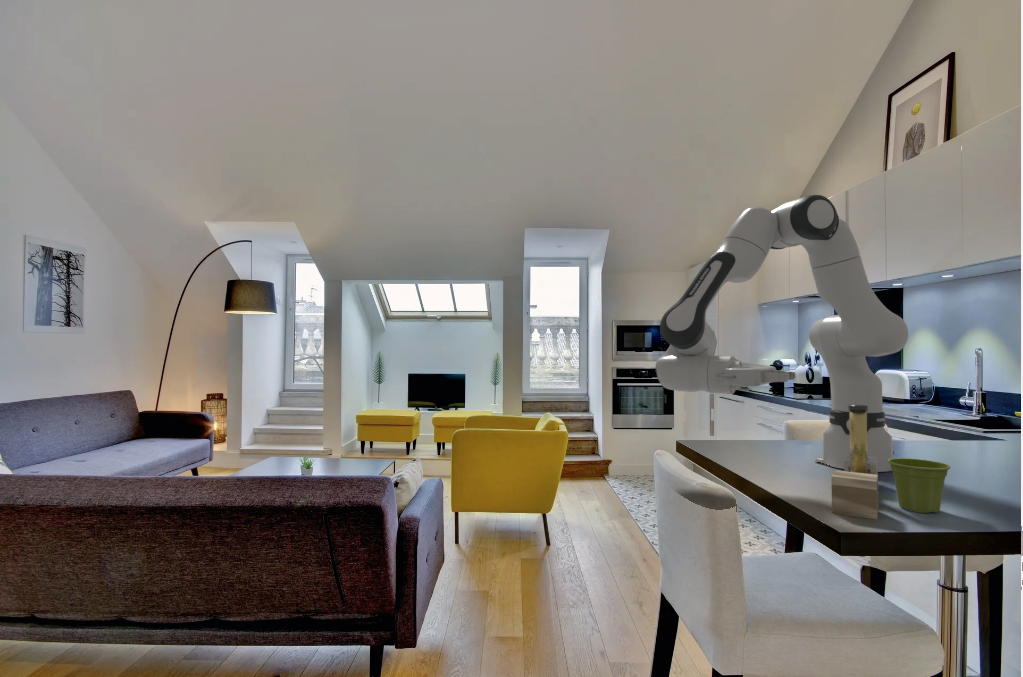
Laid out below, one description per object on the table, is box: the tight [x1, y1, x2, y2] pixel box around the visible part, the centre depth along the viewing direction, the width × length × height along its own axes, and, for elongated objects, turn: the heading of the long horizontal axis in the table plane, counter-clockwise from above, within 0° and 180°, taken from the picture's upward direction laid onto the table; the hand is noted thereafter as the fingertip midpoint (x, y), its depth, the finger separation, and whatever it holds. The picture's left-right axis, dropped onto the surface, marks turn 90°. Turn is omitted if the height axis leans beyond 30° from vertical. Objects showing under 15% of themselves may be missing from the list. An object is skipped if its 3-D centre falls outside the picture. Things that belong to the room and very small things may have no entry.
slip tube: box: [848, 405, 871, 474], centre depth 114 cm, size 20×3×17 cm, turn 145°
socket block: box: [830, 469, 879, 520], centre depth 100 cm, size 6×7×7 cm
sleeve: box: [843, 454, 879, 476], centre depth 118 cm, size 10×6×6 cm, turn 145°
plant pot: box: [888, 457, 951, 514], centre depth 102 cm, size 9×9×9 cm
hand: (791, 376), depth 118 cm, fingers open, 8 cm apart
